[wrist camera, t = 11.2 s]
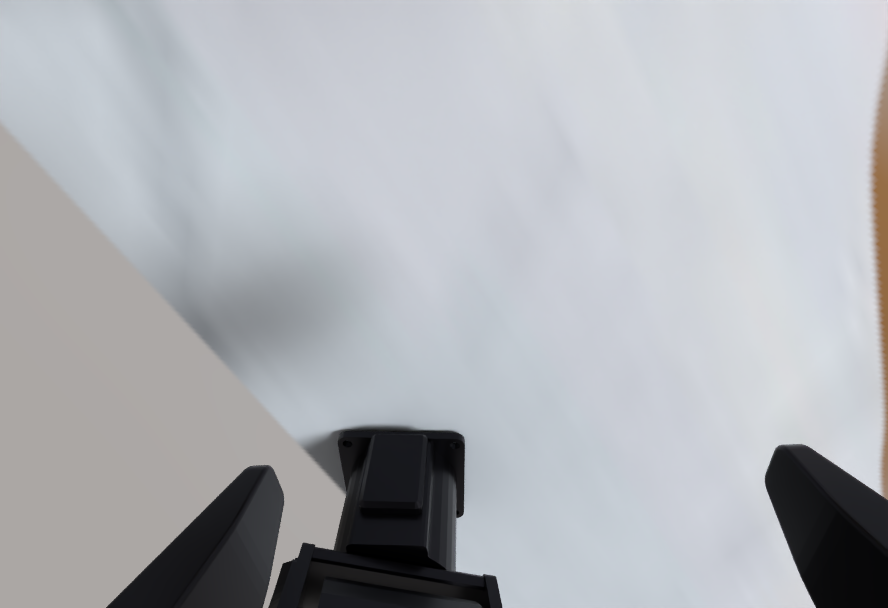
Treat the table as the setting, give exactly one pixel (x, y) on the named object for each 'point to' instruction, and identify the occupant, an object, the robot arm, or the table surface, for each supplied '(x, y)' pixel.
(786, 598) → the table surface
